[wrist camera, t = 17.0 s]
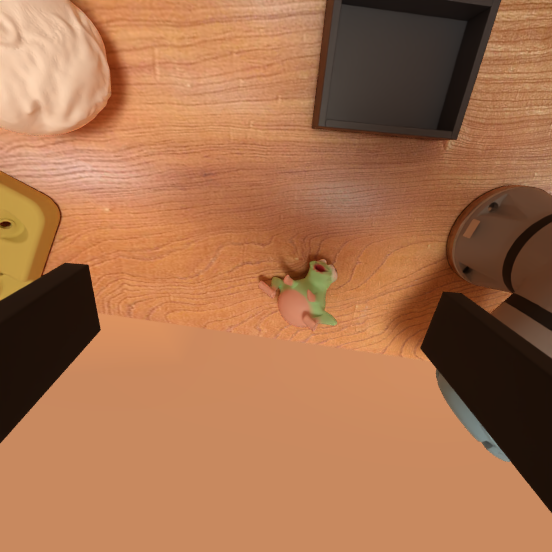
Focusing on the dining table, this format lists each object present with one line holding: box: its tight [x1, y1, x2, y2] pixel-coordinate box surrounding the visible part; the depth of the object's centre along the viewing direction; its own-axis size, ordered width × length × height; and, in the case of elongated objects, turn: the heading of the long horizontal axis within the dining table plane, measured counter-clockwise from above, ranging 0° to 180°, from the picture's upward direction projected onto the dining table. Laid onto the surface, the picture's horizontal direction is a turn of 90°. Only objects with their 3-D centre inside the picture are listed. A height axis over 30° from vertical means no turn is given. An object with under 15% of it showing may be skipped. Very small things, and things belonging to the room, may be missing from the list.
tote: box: [312, 0, 501, 140], centre depth 31 cm, size 17×13×4 cm
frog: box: [259, 259, 337, 331], centre depth 41 cm, size 12×10×9 cm
